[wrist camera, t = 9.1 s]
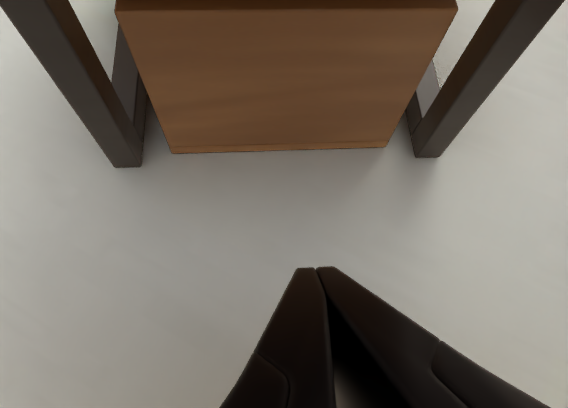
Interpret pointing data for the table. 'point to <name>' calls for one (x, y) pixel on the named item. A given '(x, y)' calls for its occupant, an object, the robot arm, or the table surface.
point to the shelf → (132, 94)
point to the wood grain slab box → (281, 69)
